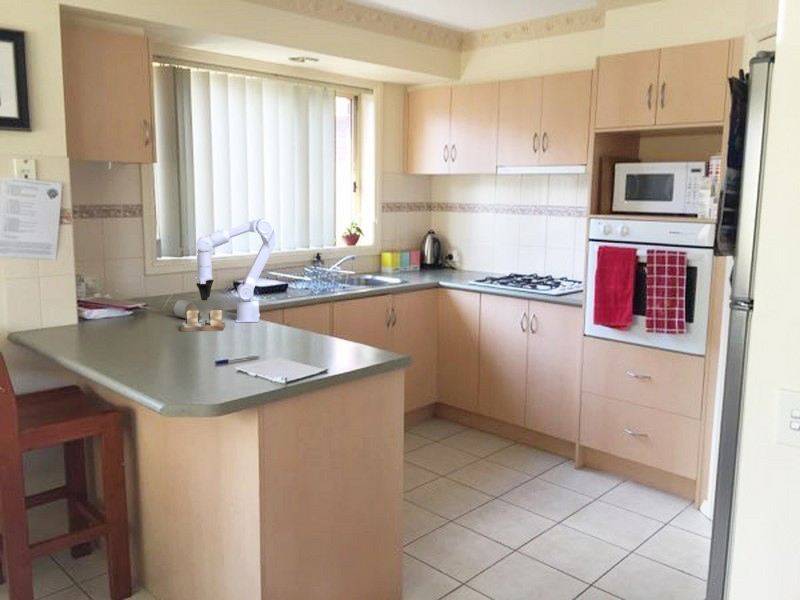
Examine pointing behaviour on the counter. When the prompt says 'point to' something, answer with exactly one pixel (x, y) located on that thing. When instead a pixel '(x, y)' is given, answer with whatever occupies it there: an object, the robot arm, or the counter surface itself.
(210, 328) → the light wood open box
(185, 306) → the ceramic mug
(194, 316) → the tan square block
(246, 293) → the robot arm
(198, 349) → the counter surface
